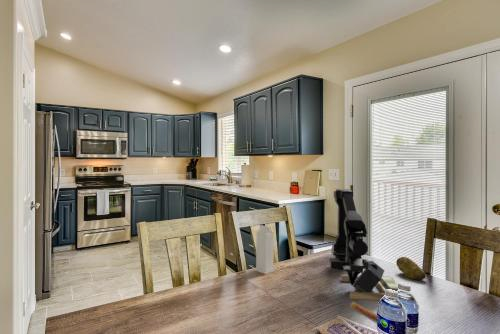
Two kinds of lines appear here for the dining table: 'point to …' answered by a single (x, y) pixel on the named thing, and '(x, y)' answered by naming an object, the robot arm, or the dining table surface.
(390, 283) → the light tan flat part
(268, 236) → the milk
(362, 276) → the small box
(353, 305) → the chocolate bar
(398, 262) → the potato
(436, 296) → the dining table surface
